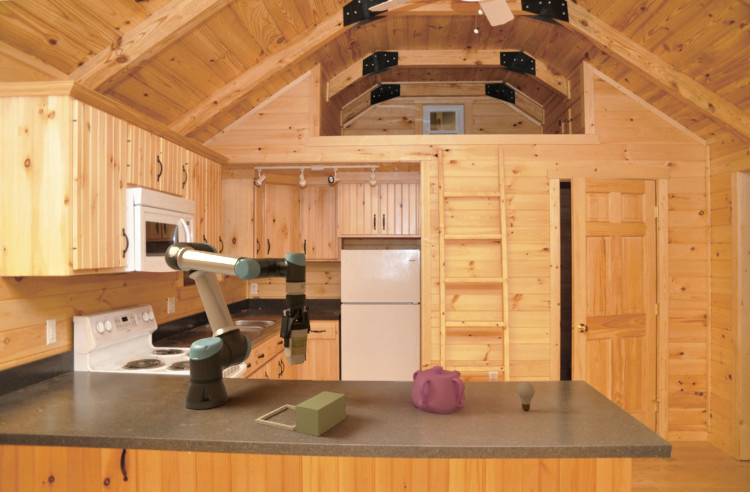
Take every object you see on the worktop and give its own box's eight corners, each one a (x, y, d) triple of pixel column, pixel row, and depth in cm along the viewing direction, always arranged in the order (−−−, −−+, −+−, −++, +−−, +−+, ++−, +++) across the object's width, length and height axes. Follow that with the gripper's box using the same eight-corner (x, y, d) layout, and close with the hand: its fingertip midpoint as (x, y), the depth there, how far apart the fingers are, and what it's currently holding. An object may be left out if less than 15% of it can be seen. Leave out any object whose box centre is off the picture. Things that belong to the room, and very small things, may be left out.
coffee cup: (303, 366, 162) (303, 325, 162) (278, 365, 164) (278, 324, 164) (312, 359, 171) (312, 321, 171) (288, 358, 173) (288, 320, 173)
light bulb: (534, 408, 158) (534, 380, 158) (535, 414, 152) (534, 385, 153) (517, 407, 160) (517, 379, 160) (517, 412, 154) (516, 383, 154)
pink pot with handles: (412, 415, 153) (412, 373, 153) (411, 395, 174) (410, 358, 174) (468, 416, 152) (468, 374, 152) (460, 396, 173) (460, 359, 173)
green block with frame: (255, 422, 147) (254, 398, 147) (286, 407, 162) (286, 384, 162) (318, 436, 136) (317, 410, 136) (345, 418, 150) (345, 394, 150)
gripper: (285, 296, 157) (285, 360, 156) (320, 291, 176) (320, 348, 175) (269, 295, 160) (269, 358, 160) (304, 290, 179) (304, 346, 179)
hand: (295, 353), depth 168 cm, fingers closed on coffee cup, 9 cm apart
